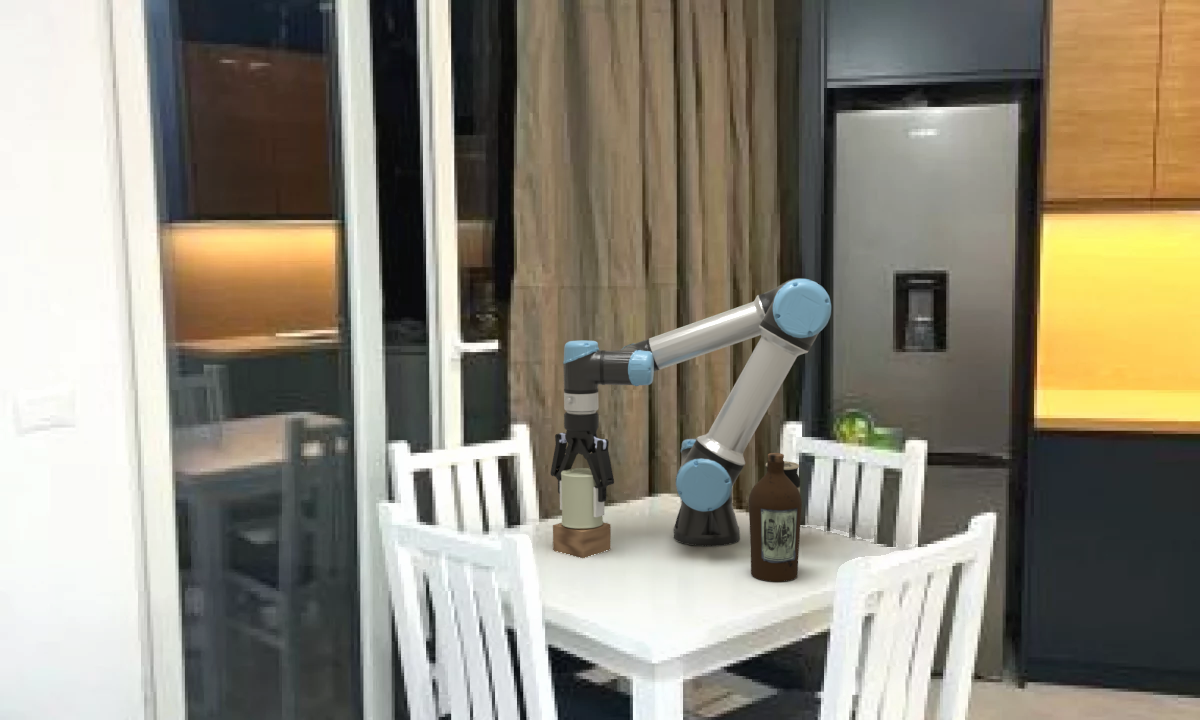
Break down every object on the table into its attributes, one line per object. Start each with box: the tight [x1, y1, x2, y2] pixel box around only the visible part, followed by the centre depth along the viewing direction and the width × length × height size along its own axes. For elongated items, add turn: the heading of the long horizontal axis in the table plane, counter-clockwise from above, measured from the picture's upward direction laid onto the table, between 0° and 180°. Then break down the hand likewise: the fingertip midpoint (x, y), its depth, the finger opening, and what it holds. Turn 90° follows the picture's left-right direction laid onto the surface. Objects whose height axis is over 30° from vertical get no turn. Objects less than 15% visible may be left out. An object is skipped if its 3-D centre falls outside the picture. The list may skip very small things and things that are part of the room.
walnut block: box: [552, 521, 612, 559], centre depth 237 cm, size 9×9×6 cm
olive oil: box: [748, 452, 803, 583], centre depth 217 cm, size 11×11×25 cm
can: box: [560, 467, 604, 529], centre depth 236 cm, size 9×9×12 cm
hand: (581, 512), depth 236 cm, fingers open, 9 cm apart
